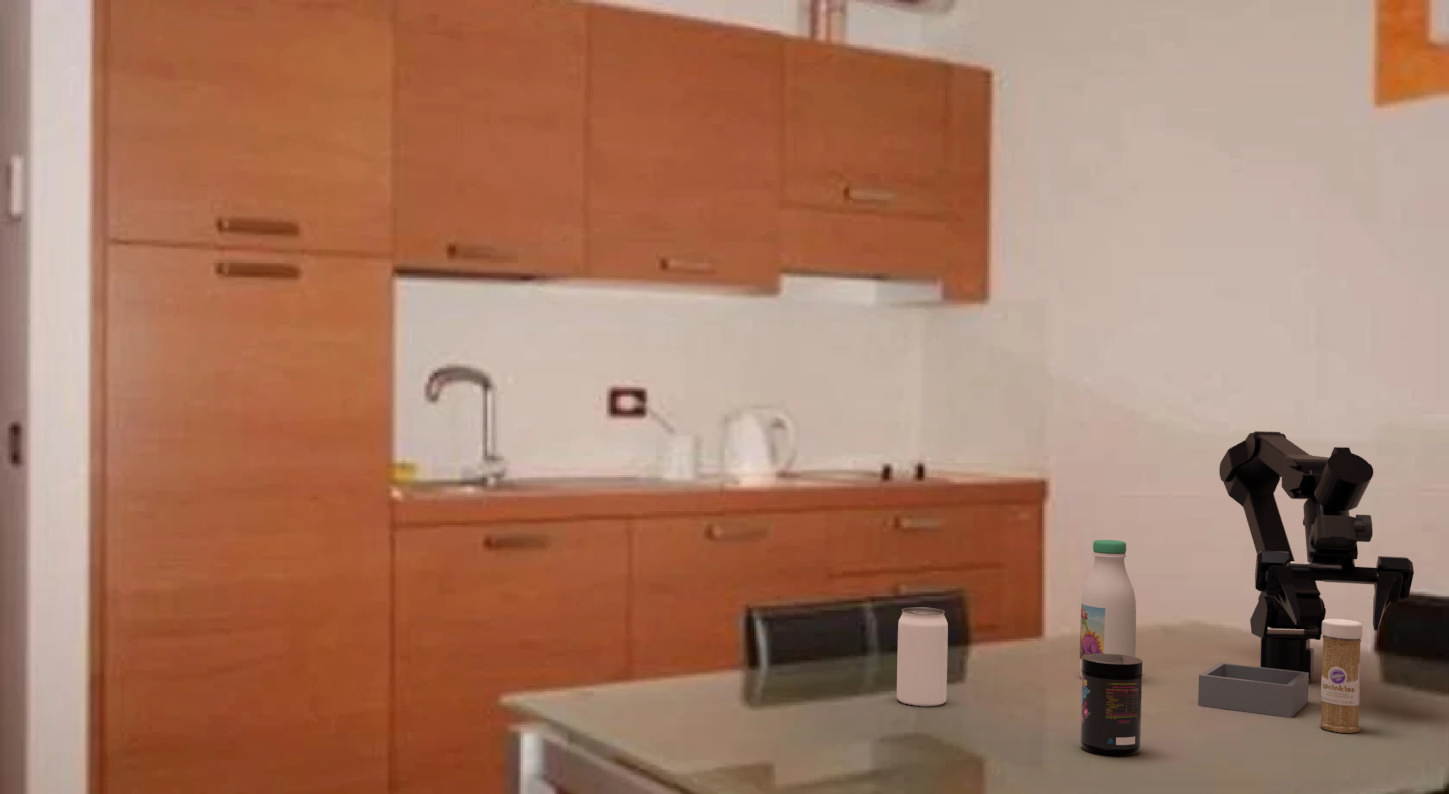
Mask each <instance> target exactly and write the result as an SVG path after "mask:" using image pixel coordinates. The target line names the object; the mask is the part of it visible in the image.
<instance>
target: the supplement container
mask: <svg viewBox="0 0 1449 794" xmlns="http://www.w3.org/2000/svg"><path fill="white" fill-rule="evenodd" d="M1081 672H1082V678H1081V684H1080V685H1081V691H1080V693H1081V694H1080V739H1079V741H1080V745H1081V747H1082V749H1084V750H1085V751H1087V752H1089V753H1092V754H1095V755H1100V756H1105V757H1106V756H1108V757H1131V756H1134V755H1136V754H1137V753H1138V752H1139V751H1140V749H1141V744H1142V743H1141V740H1142V737H1141V735H1142V697H1143V696H1142V693H1143V691H1142V689H1143V688H1142V687H1143V660H1142V659H1141V658H1139V657H1136V656H1135V657H1132V656H1126V655H1118V654H1087V655H1083V656H1082V669H1081Z"/></svg>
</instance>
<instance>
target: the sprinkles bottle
mask: <svg viewBox="0 0 1449 794" xmlns="http://www.w3.org/2000/svg"><path fill="white" fill-rule="evenodd" d="M1321 638H1322V661H1321V662H1322V663H1321V676H1320V677H1321V682H1320V684H1321V685H1320V700H1321V703H1320V704H1321V707H1320V708H1321V710H1320V713H1321V714H1320V723H1319V727H1321V729H1323V730H1325V731H1329V732H1333V733H1334V732H1335V733H1339V734H1340V733H1341V734H1353V733H1357V732H1359V731H1361V730H1360V723H1359V721H1360V704H1361V703H1360V702H1361V696H1360V695H1361V694H1360V693H1361V642H1362V638H1363V624H1362V622H1360V621H1356V620H1353V619H1345V618H1325V619H1324V620H1323V621H1322V635H1321Z"/></svg>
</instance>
